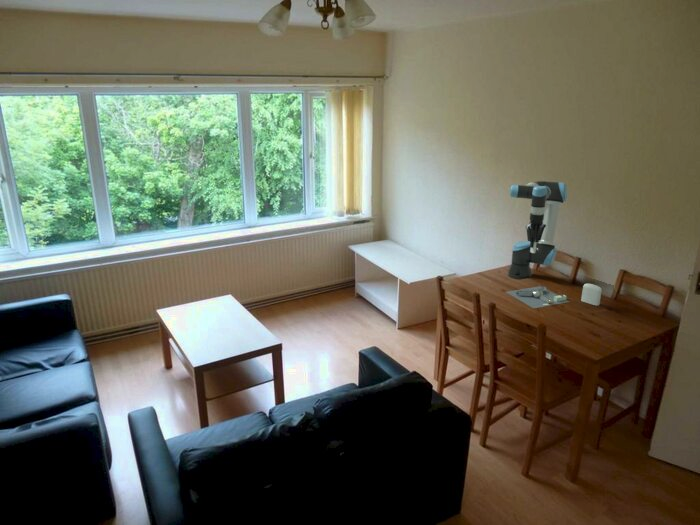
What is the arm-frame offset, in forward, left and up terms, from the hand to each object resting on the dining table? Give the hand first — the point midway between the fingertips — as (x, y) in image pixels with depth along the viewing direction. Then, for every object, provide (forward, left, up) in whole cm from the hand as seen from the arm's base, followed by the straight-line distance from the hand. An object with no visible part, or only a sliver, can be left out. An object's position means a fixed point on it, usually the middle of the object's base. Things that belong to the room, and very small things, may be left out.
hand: (532, 252), depth 294 cm
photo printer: (-26, +23, -28) cm, 45 cm away
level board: (-3, +5, -28) cm, 29 cm away
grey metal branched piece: (-1, +3, -27) cm, 27 cm away
